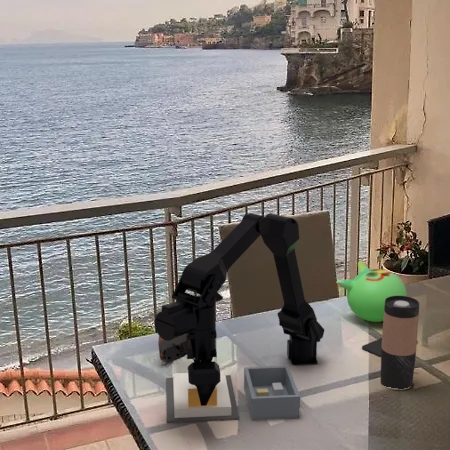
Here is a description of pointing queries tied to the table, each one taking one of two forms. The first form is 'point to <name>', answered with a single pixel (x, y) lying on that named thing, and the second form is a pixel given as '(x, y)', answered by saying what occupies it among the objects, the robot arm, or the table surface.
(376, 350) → the phone
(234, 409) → the mat
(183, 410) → the lid
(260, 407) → the parts tub
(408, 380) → the travel mug
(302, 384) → the table surface
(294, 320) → the robot arm
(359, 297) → the toy bird
